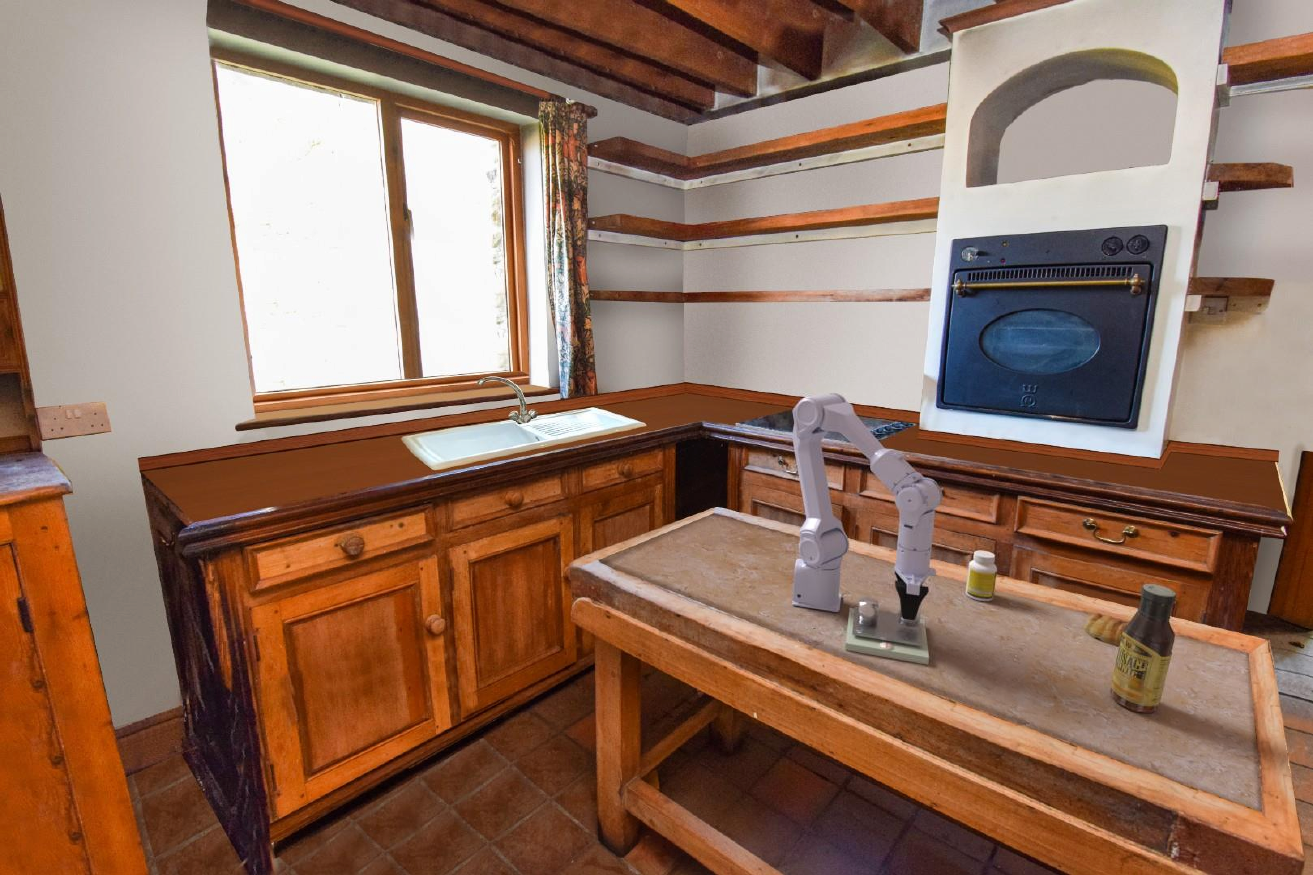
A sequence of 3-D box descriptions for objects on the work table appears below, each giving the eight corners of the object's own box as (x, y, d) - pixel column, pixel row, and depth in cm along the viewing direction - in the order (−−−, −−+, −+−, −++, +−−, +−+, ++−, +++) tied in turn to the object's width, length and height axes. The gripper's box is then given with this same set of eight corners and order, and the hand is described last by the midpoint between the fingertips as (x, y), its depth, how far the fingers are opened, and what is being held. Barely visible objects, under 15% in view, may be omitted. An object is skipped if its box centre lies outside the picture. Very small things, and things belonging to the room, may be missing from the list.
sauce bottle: (1099, 691, 100) (1119, 579, 96) (1135, 689, 101) (1156, 577, 96) (1133, 718, 94) (1155, 598, 89) (1171, 715, 94) (1195, 597, 90)
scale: (845, 649, 112) (845, 641, 112) (849, 613, 125) (849, 606, 125) (928, 664, 108) (929, 656, 107) (923, 625, 121) (924, 617, 120)
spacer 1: (857, 623, 116) (858, 604, 116) (857, 615, 120) (859, 596, 119) (877, 627, 115) (878, 607, 114) (877, 618, 119) (878, 599, 118)
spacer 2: (899, 625, 114) (901, 606, 113) (897, 616, 117) (898, 597, 116) (920, 628, 113) (922, 608, 112) (917, 618, 116) (919, 599, 115)
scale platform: (851, 639, 114) (852, 631, 114) (854, 613, 123) (854, 606, 123) (921, 651, 110) (922, 643, 110) (919, 624, 119) (919, 616, 119)
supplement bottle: (997, 603, 129) (1002, 560, 127) (969, 600, 130) (974, 557, 128) (988, 591, 135) (994, 549, 132) (962, 589, 136) (966, 547, 134)
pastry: (1153, 645, 114) (1156, 627, 113) (1138, 657, 110) (1142, 638, 109) (1095, 624, 121) (1098, 606, 120) (1080, 635, 118) (1082, 616, 117)
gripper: (941, 563, 104) (934, 636, 107) (935, 533, 117) (928, 599, 120) (897, 558, 106) (890, 629, 109) (895, 529, 119) (890, 593, 122)
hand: (907, 613), depth 115 cm, fingers closed on spacer 2, 4 cm apart
